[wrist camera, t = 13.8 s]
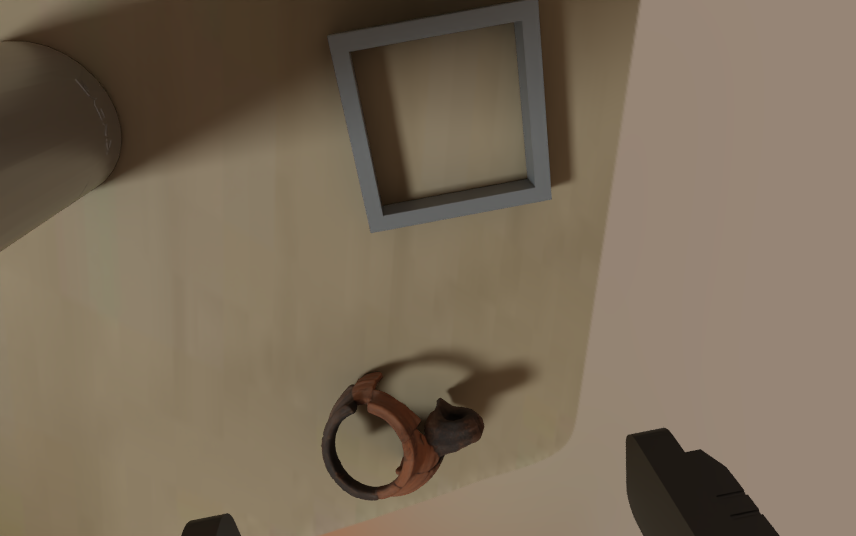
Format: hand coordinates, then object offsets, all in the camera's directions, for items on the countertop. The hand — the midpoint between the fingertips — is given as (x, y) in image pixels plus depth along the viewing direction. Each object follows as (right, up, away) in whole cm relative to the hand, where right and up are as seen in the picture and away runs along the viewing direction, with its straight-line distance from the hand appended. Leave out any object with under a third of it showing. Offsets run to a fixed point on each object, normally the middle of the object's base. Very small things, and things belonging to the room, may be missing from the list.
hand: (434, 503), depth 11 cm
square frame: (+1, +14, +25) cm, 28 cm away
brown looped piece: (-2, -7, +34) cm, 35 cm away
